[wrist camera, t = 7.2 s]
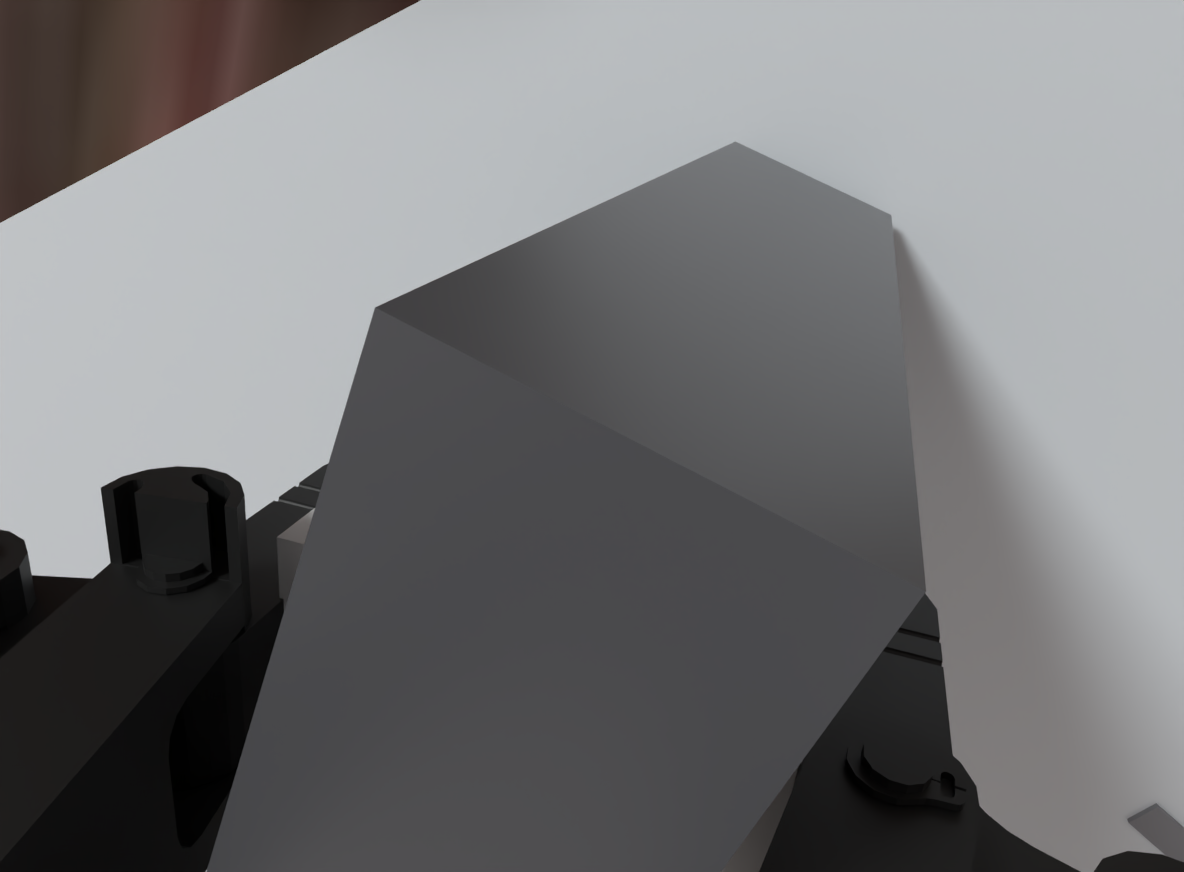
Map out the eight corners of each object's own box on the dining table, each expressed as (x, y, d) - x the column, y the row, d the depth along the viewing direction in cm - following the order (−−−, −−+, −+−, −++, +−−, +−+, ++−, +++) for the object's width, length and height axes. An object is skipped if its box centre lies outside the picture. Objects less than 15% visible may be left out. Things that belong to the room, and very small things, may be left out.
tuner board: (1164, -369, 11) (1192, -412, 10) (1394, 953, 17) (1426, 1009, 16) (-127, 303, 22) (-175, 313, 21) (270, 973, 27) (247, 1007, 26)
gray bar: (735, 141, 14) (375, 307, 4) (891, 214, 13) (926, 590, 4) (407, 853, 22) (21, 1490, 12) (500, 907, 21) (185, 1604, 12)
